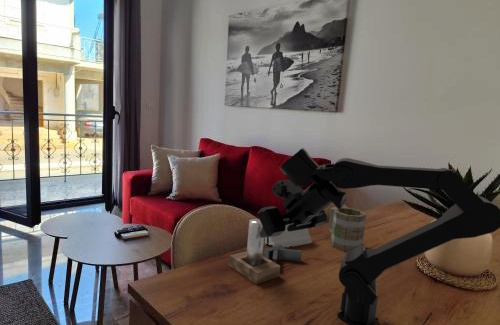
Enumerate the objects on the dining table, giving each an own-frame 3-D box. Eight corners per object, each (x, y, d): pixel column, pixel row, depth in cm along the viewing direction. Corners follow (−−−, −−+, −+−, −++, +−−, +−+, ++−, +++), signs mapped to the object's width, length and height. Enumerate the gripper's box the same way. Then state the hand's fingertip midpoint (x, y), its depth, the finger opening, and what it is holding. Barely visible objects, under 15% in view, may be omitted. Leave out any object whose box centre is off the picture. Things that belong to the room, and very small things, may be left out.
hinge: (273, 249, 107) (269, 218, 109) (265, 249, 111) (261, 218, 113) (313, 242, 116) (309, 213, 117) (304, 242, 120) (300, 214, 121)
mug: (369, 250, 112) (373, 216, 111) (342, 253, 108) (346, 217, 107) (340, 234, 127) (343, 203, 125) (315, 235, 123) (319, 204, 121)
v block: (302, 261, 100) (303, 251, 100) (273, 270, 93) (274, 260, 92) (285, 252, 106) (286, 243, 105) (256, 260, 98) (257, 250, 98)
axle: (264, 272, 91) (269, 222, 89) (252, 276, 88) (256, 225, 86) (254, 266, 95) (258, 218, 93) (242, 269, 92) (245, 220, 90)
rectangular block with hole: (279, 276, 89) (280, 265, 89) (256, 284, 84) (257, 273, 84) (251, 259, 99) (252, 249, 98) (228, 265, 94) (229, 255, 93)
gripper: (322, 169, 84) (287, 201, 94) (266, 172, 72) (232, 209, 82) (345, 207, 79) (305, 237, 89) (289, 218, 67) (250, 251, 77)
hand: (274, 232), depth 84 cm, fingers open, 9 cm apart
